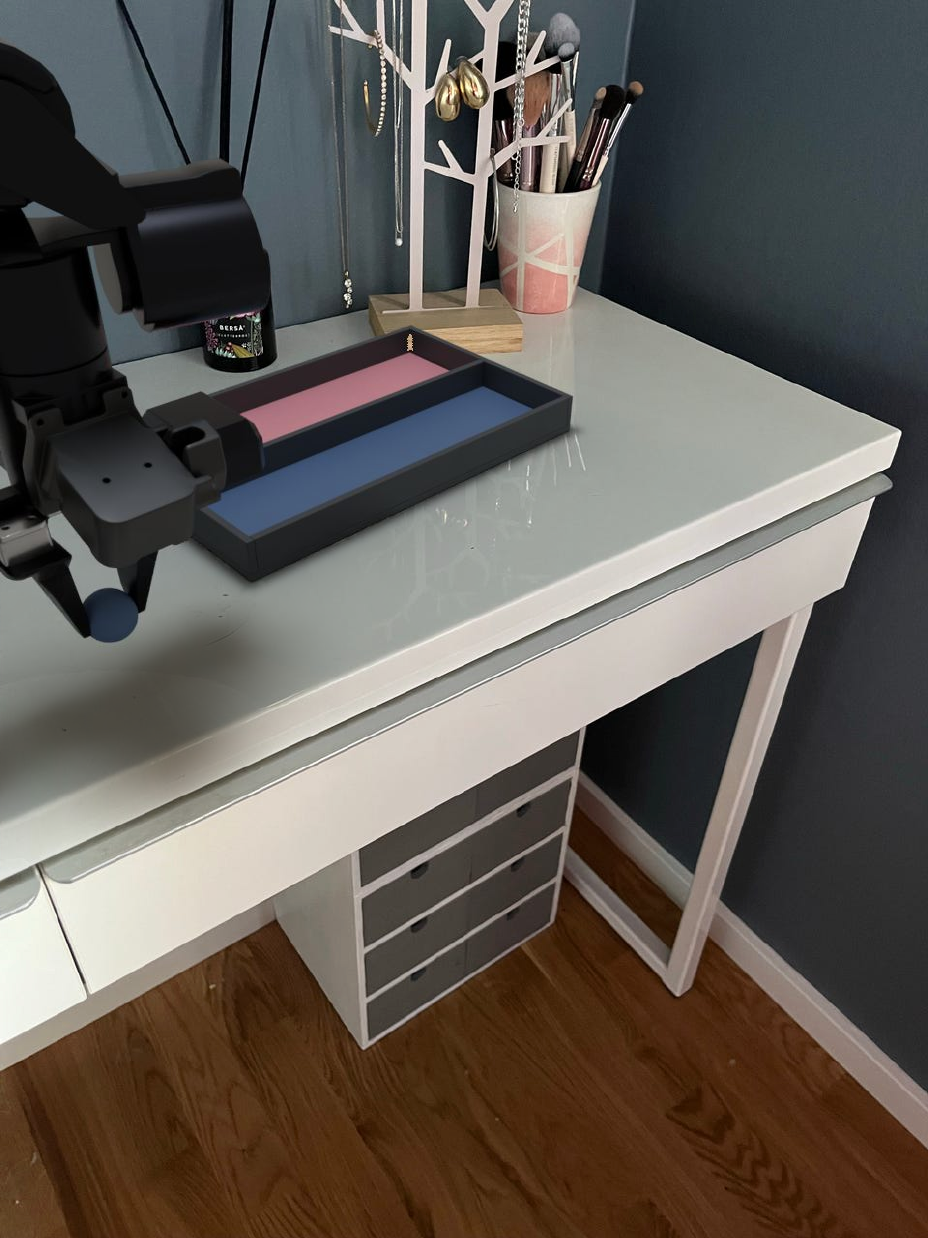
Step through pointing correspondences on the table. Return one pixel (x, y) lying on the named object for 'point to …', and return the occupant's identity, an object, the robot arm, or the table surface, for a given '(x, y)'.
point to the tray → (368, 442)
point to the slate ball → (110, 614)
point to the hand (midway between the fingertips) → (110, 621)
